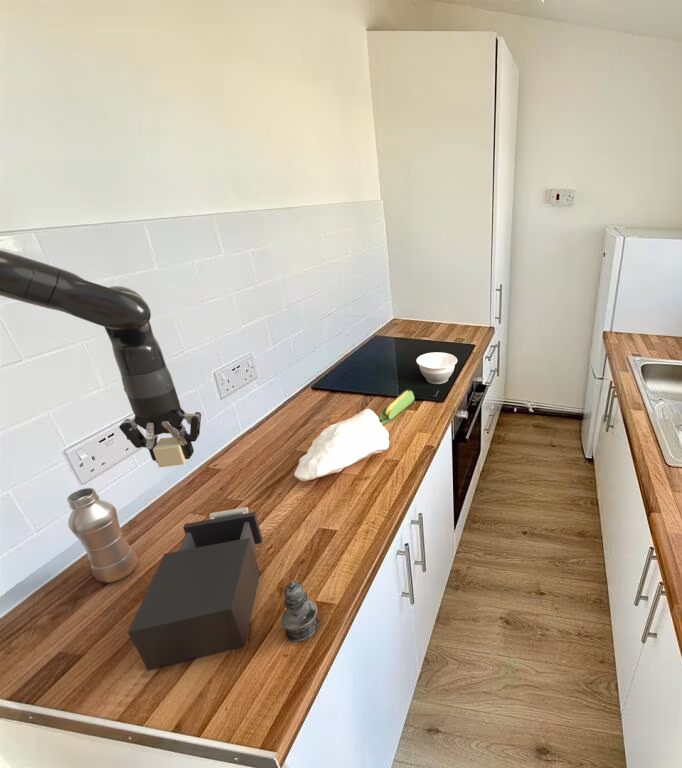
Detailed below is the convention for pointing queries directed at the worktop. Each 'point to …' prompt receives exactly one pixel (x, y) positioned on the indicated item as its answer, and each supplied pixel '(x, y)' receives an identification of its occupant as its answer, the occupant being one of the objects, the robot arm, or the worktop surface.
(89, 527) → the silver metal bottle
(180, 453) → the block
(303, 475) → the crumpled cloth
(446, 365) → the bowl
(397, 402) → the edible corn
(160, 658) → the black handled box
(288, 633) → the grey tiered figure
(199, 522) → the drawer
